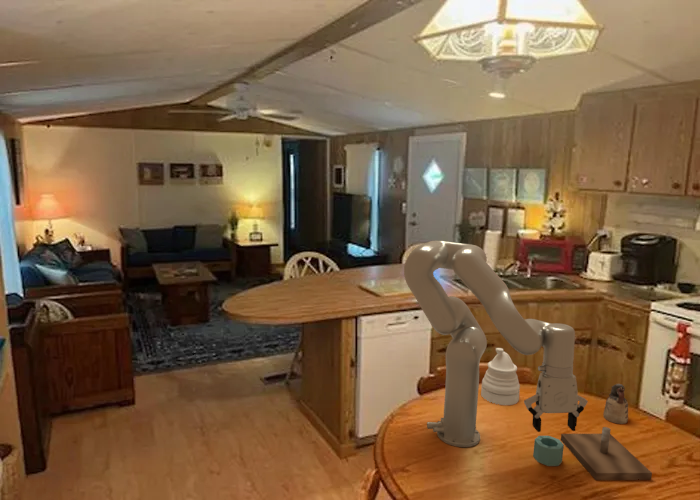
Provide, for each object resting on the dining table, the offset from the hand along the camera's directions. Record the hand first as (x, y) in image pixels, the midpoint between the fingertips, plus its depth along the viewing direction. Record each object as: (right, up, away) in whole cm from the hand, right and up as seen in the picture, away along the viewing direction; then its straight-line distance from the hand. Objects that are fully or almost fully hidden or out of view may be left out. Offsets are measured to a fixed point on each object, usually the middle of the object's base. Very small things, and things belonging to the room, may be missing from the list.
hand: (554, 429), depth 143 cm
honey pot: (-3, -3, +40) cm, 41 cm away
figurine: (+30, -6, +27) cm, 41 cm away
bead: (-1, -9, +2) cm, 9 cm away
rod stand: (+15, -9, +3) cm, 18 cm away
